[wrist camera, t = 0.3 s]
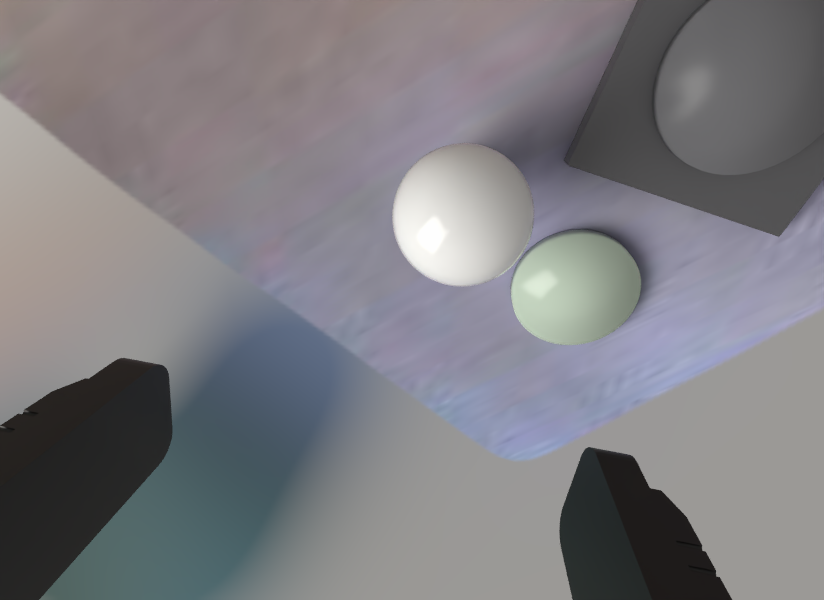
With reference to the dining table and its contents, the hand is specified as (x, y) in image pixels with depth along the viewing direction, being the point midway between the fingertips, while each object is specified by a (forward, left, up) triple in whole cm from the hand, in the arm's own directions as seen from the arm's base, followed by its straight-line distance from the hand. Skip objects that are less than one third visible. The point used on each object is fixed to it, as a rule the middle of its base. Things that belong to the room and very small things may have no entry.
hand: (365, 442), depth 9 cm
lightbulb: (-1, +2, -22) cm, 22 cm away
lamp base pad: (-12, +12, -22) cm, 27 cm away
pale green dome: (+2, +12, -22) cm, 25 cm away
